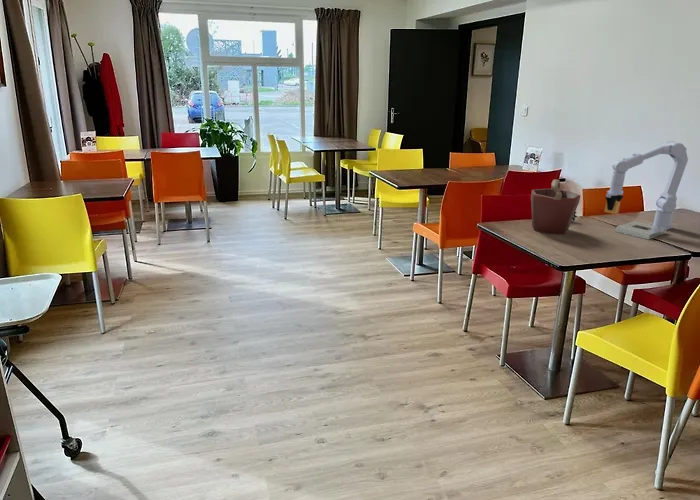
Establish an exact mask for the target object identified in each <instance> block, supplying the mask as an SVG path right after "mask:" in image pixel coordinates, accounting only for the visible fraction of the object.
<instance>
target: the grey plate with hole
mask: <svg viewBox="0 0 700 500" xmlns="http://www.w3.org/2000/svg"><path fill="white" fill-rule="evenodd" d="M667 231H668V230H667V228H663V227H658V226H654V225H653V224H648V223H643V222H640V221H636V220H633V221H630V222H627V223H623V224H621V225H617V226H616V227H615V232H617V233H619V234H624V235H628V236H633V237H636V238H640V239H645V240H652V239H655V238H657V237H659V235H660V236H663V235H664V234H666V233H667Z"/></svg>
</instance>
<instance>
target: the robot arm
mask: <svg viewBox="0 0 700 500" xmlns="http://www.w3.org/2000/svg"><path fill="white" fill-rule="evenodd" d="M658 155H669V156H670V157H671V159H672V160H673V165H672V168H671V171H670V174H669V175H668V176H669V177H668V179H667V183H666V185H665V188H664V191H663V192H662V193H660V196H659V197H658V198H657V200H656V202H655V205H656V207H657V208H656V211H655V215H654V218H653V224H652V225H654V226H658V227H663V228H667V230H666V231H668V230H670V229H673V228H674V227H673V226H672V223H673V219H674V211H675V210H676V209H677V200H678V198H677V192H678V188H679V186H680V183H681V180H682V178H683V175H684V172H685V169H686V166H687V165H688V160H689V157H688V153H687V147H685V145H684V144H683V143H681V142H676V141H673V140H672V141H667V142H664V143H661V144H659V145H658V146H655V147H653V148H651V149H649V150H647V151H644V152H643V153H635V152H633V153H631V155H630V156H627V157H623V158H622V160H621V159H619V160H616V161H615V162H614V163H613V164H612V169H613V172H612V177H611V182H610V187H609V190H607V191H606V195H605V201H607V208H608V210H612V209H613V207H614V204H615V202H616V201H618V202H620V203H621V201H622V200H623V199H624V190H623V188H624V183H625V177H626V173H627V171H629V169H632V168H635V167H636V166H639V165H642V164H643V163H644V161H645V160H649V159H650V158H653V157H656V156H658Z"/></svg>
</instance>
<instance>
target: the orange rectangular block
mask: <svg viewBox="0 0 700 500" xmlns="http://www.w3.org/2000/svg"><path fill="white" fill-rule="evenodd" d="M605 201H606V202H605V206H604V211H603V212H604V213H608V214H613V215H616V214H619V212H620V211H619V210H620V206H621V201H620V202H618V201H616V202H615V204H614V207H613V209H612V210H608V208H607V200H605Z"/></svg>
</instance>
